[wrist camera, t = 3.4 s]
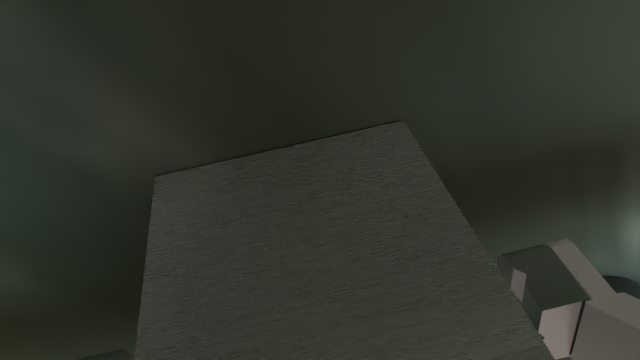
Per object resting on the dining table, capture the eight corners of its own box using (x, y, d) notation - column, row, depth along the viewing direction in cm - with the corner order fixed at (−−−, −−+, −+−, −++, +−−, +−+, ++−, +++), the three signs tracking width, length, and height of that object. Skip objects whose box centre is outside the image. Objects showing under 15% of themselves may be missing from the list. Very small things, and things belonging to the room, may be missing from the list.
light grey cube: (155, 176, 11) (113, 543, 6) (403, 120, 12) (590, 415, 6) (221, 332, 15) (235, 656, 9) (411, 285, 15) (536, 569, 9)
